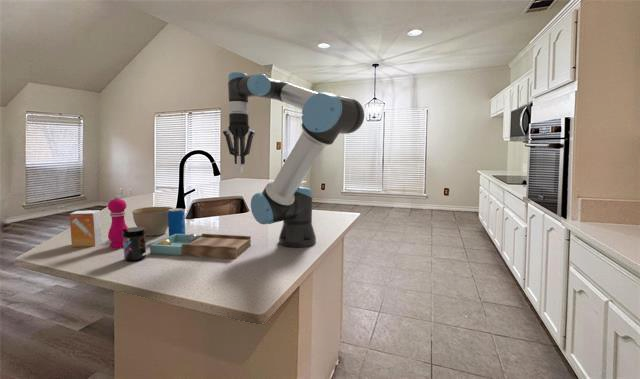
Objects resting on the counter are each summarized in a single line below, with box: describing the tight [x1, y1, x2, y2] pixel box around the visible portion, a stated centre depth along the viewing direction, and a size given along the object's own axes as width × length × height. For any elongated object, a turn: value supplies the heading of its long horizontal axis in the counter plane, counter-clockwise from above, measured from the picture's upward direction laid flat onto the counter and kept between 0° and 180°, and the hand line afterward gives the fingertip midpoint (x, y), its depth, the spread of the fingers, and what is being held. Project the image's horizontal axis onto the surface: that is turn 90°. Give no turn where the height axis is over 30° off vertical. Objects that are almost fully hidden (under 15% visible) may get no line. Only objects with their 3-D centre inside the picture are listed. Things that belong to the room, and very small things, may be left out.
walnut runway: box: [182, 233, 252, 260], centre depth 122 cm, size 20×15×4 cm
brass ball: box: [159, 238, 171, 245], centre depth 120 cm, size 4×4×4 cm
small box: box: [69, 209, 103, 248], centre depth 127 cm, size 8×6×13 cm
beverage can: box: [168, 207, 186, 237], centre depth 139 cm, size 6×6×12 cm
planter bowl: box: [131, 206, 174, 237], centre depth 144 cm, size 16×16×11 cm
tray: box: [149, 233, 202, 257], centre depth 125 cm, size 12×16×3 cm
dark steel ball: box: [187, 233, 198, 243], centre depth 128 cm, size 4×4×4 cm
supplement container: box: [122, 226, 147, 263], centre depth 112 cm, size 7×7×10 cm
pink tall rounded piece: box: [107, 194, 129, 250], centre depth 125 cm, size 7×7×20 cm
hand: (239, 172), depth 134 cm, fingers closed
